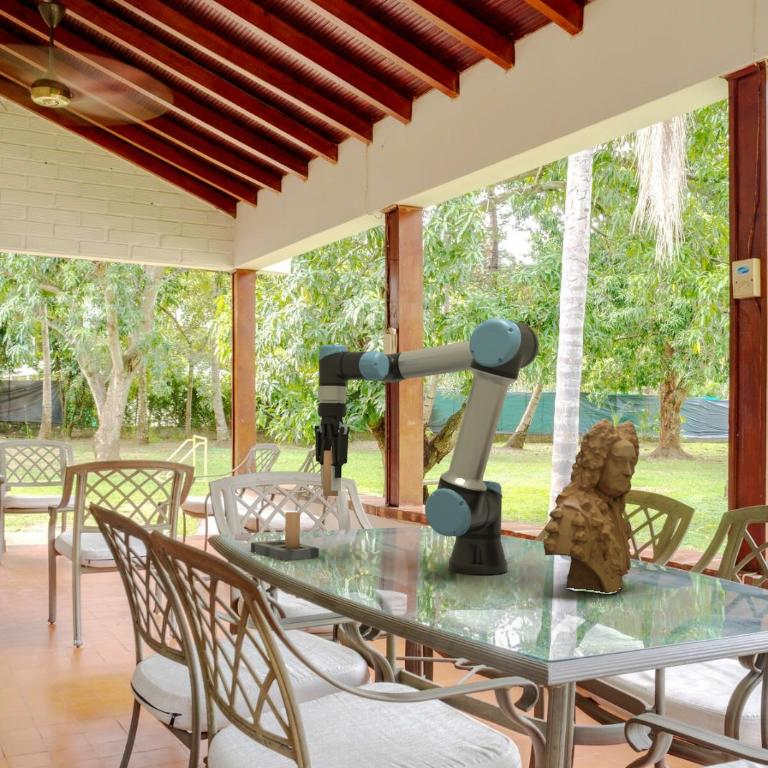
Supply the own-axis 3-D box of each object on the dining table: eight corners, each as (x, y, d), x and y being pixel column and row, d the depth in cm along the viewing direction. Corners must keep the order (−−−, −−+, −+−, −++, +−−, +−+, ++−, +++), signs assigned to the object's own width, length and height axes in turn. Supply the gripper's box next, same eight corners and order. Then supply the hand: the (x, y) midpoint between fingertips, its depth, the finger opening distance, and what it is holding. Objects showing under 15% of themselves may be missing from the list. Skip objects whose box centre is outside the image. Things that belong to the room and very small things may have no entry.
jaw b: (340, 495, 231) (341, 450, 231) (328, 496, 228) (329, 451, 228) (332, 494, 234) (333, 450, 234) (320, 495, 231) (320, 450, 232)
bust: (610, 607, 183) (613, 418, 184) (532, 596, 192) (535, 416, 193) (652, 581, 212) (653, 418, 213) (582, 573, 221) (584, 417, 223)
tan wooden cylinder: (302, 557, 237) (303, 513, 237) (289, 558, 235) (290, 514, 235) (294, 554, 240) (295, 511, 241) (281, 556, 238) (282, 512, 238)
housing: (318, 557, 237) (318, 548, 237) (284, 561, 230) (284, 551, 230) (284, 548, 251) (284, 539, 251) (250, 551, 244) (251, 542, 244)
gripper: (362, 402, 227) (360, 491, 227) (325, 402, 241) (324, 486, 240) (339, 402, 223) (337, 493, 222) (303, 402, 236) (301, 487, 235)
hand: (330, 489), depth 231 cm, fingers closed on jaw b, 4 cm apart
